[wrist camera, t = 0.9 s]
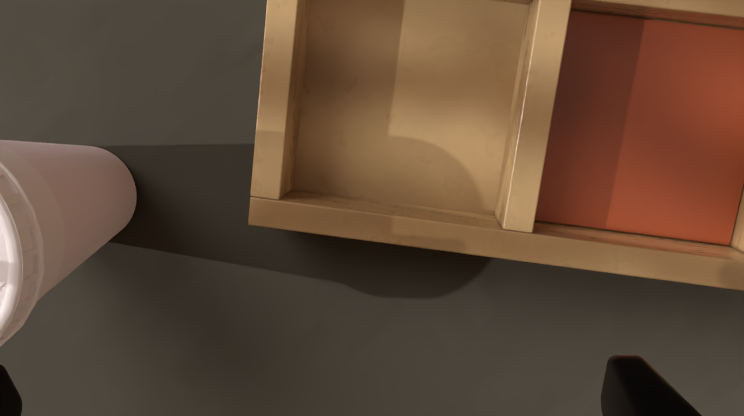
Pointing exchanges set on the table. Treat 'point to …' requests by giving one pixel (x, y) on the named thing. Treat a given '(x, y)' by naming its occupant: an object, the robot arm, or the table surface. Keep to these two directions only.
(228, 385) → the table surface
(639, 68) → the caddy
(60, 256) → the smoothie
